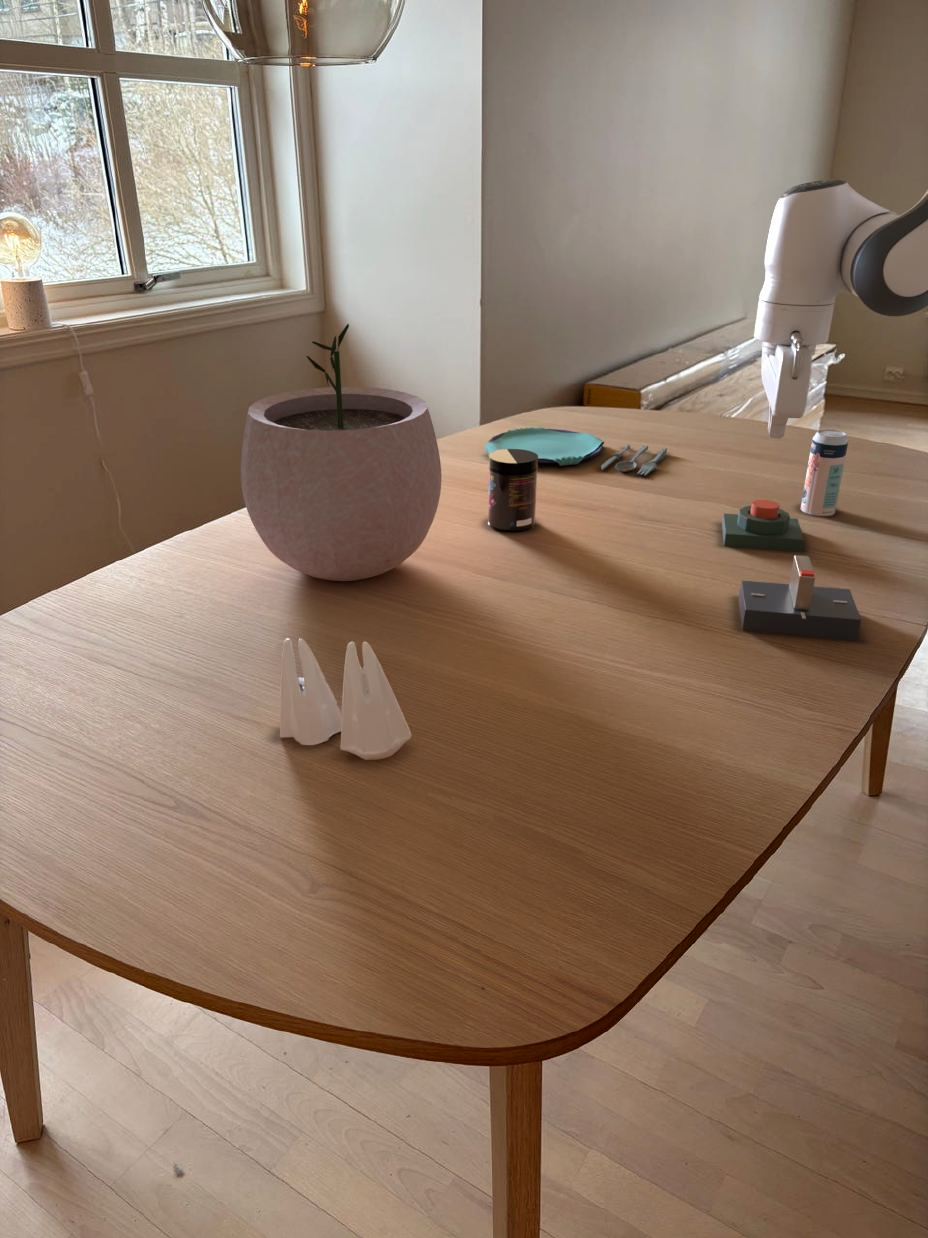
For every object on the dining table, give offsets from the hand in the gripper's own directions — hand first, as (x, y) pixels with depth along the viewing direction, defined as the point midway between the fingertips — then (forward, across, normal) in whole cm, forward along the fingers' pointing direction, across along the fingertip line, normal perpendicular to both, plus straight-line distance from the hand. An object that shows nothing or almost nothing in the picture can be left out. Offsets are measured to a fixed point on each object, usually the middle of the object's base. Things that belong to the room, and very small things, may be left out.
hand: (775, 435), depth 123 cm
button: (+11, 0, 0) cm, 11 cm away
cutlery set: (+15, +33, +29) cm, 46 cm away
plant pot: (+15, -21, +52) cm, 58 cm away
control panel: (+15, -25, -2) cm, 29 cm away
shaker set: (+15, -59, +40) cm, 73 cm away
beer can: (+15, +13, -9) cm, 22 cm away
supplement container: (+15, -2, +34) cm, 37 cm away
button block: (+15, 0, 0) cm, 15 cm away
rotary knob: (+12, -25, -2) cm, 28 cm away
